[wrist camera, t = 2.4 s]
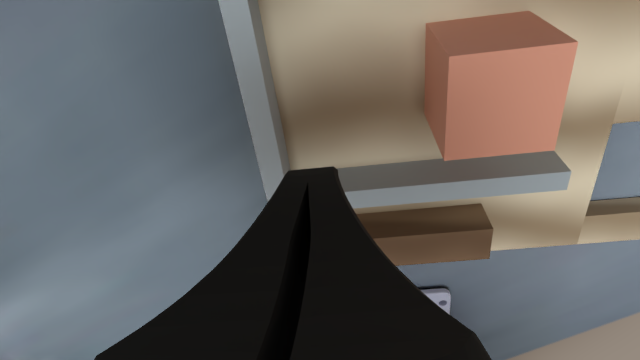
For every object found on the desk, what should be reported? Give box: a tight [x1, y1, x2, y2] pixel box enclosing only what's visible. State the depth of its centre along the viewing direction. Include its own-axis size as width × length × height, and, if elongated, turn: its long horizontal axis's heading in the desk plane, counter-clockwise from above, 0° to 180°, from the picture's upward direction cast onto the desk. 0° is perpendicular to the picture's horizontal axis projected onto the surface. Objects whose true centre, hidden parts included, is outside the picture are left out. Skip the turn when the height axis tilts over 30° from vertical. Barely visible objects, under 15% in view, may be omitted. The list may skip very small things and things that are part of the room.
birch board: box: [258, 0, 640, 251], centre depth 20 cm, size 17×26×1 cm, turn 97°
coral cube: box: [424, 11, 578, 161], centre depth 16 cm, size 4×4×4 cm
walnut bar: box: [356, 203, 493, 266], centre depth 23 cm, size 4×8×2 cm, turn 97°
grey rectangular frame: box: [218, 0, 572, 209], centre depth 17 cm, size 11×14×2 cm
